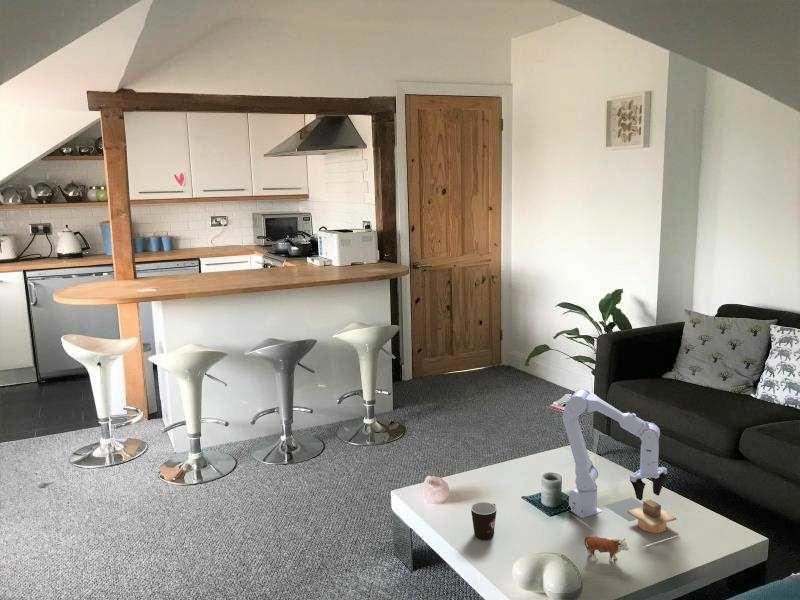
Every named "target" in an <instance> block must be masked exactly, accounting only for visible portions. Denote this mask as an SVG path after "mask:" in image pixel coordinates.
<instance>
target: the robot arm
mask: <svg viewBox="0 0 800 600" xmlns="http://www.w3.org/2000/svg"><path fill="white" fill-rule="evenodd" d="M565 403H566V404H565V407H564V410H563V413H562V415H561V417H562V421H563V425H564V429H565V432H566V436H567V439H568V442H569V446H570V449H571V453H572V456H573V460H574V463H575V466H574V468H575V469H574V470H575V471H574V472H575V488H573V489H571V490H570V491H569V494H568V507H569V506H570V507H571V510H570V511H571V513H573V514H575V515H577V516H578V517H579V518H586V517H588V516H593V515H596V514H599V513H602V512H603V510H602V509H600V508H599V507H598V485H597V482H596V481H597V479H598V478H599V471H598V469H597V468H596V467H595V465H594V462H593V460H591V459H590V456H589V452H588V450H587V446H586V442H585V439H584V435H583V431H582V429H581V425H580V421H579V416H580V415H581V414H583V413H584V412H585V411H586V410H587V411H586V412H587V413H592V412H598V413H600V414H603V415H604V416H606V417H609V418H611V419H612V420H614V421H616V422H618V423H619V426H620V427H621V428H622V429H623V430H625V431H627V432H629V433H631V434H633V436H636V437H637V438H639V439H640V441H641V445H640V460H639V469H638V470H637V471H636V472H633V473H631V474H629V481H630V483H631V485H632V487H633V489H634V494H635V497H636V500H638V501H643V497H644V489H645V487H646V485H647V484H646V483H645V482H644V481H643V479H651V478H652V492H653V494H654V495H656V496H658V497H659V496H660V494H661V492H662V489H663V486H664V484H665V482H666V481H667V480H668V476H667V474H668V468H666V467H664V466H659V452H660V451H659V450H660V449H659V447H660V445H659V444H660V443H659V441H660V440H659V439H660V436H661V430H660V427H659V426H658V425H657V424H656V423H654V422H649V421H645V420H644V419H642V418H640V417H638V416H637V414H636V413H634V412H632V413H631V412H622V411H621V410H620V409H618V408H615V406H613V405H611V404H610V403H608V402H607V401H605V400H603V399H601V398H600V397H599V396H598V395H596V394H595V393H593V392H590V391H589V390H587V389H585V388H578V389H577V390H576V391H574V393H573V394H572V395H571V397H570V398H569V399H568V401H567V402H565Z"/></svg>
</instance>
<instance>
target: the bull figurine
mask: <svg viewBox="0 0 800 600" xmlns="http://www.w3.org/2000/svg"><path fill="white" fill-rule="evenodd" d="M583 543H584V546H585V547H586V551H587V554H588V556H590V557H592V559H593V560H595V561H596V562H598V561H599V559H598V558H597V557H596V556H597V555H595V552H596V551H598V552H599V553H600V554H603V553H609V559H608V562H609V563H610V564H611V563H612V564H613V563H614V561H613V560H612V559H614V560H615V561H616V560H618V557H617V556H616V554H618V553H620V552H621V551H629V550H630V547H629V546H628V543H627V541H626V537H624V538H621V539H620V538H619V537H600V536H599V537H598V536H592V535H591V536H589V535H588V536H585V538H584V542H583Z"/></svg>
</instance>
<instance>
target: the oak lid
mask: <svg viewBox="0 0 800 600" xmlns="http://www.w3.org/2000/svg"><path fill="white" fill-rule="evenodd" d="M642 502H643V503H642V504H643V507H639V508H636V509H633V510H629V511H628V513H629V514H630V515H632V516H634V517H635V518H637V519H636V520H637V521H638V520H640V521H642V522H643V523H645V524H647V525H648V526H650V527H654V526H657V525H660V524H664V523H670V522H672V521H673V522H674V521H675V520H677V517H676V516H675V515H673V514H671V513H669V512H667V511H666V510H663V509H662V505H661V504H659V503H658V502H656V501H654V500H652V499H646V500H642Z"/></svg>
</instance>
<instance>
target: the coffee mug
mask: <svg viewBox="0 0 800 600" xmlns="http://www.w3.org/2000/svg"><path fill="white" fill-rule="evenodd" d="M497 510H498V509H497V505H496V504H495V503H492V502H488V501H478V502H476V503H473V504H472V505H471V506H470V512H471V519H472V520H471V521H472V525H473V526H472V527H473V534H474V537H475V538H476V539H477V540H479V541H489V540H492V539H493V538H494V534H495V528H496V527H495V525H496V516H497Z"/></svg>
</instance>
